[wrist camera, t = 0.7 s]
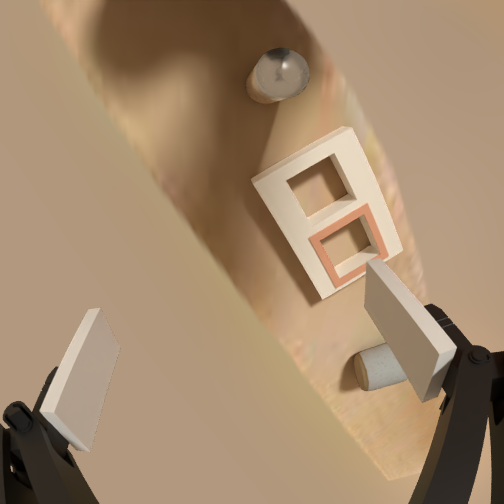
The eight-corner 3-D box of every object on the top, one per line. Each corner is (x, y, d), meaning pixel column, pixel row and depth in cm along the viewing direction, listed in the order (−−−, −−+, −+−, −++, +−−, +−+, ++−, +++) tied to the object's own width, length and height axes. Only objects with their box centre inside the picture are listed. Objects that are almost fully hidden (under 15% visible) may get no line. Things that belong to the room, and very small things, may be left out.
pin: (250, 64, 31) (263, 42, 21) (287, 73, 32) (315, 57, 22) (241, 98, 33) (250, 90, 23) (278, 108, 33) (302, 104, 23)
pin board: (250, 178, 37) (253, 184, 34) (342, 126, 35) (352, 127, 32) (316, 288, 44) (323, 300, 41) (393, 241, 42) (403, 250, 39)
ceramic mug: (350, 345, 49) (366, 377, 42) (393, 330, 49) (413, 360, 42) (352, 383, 54) (365, 413, 47) (390, 369, 54) (406, 397, 47)
